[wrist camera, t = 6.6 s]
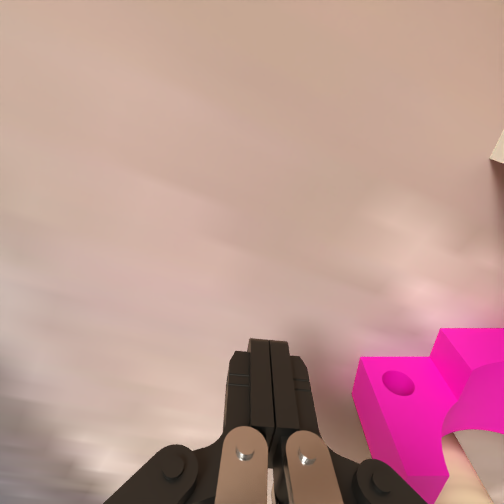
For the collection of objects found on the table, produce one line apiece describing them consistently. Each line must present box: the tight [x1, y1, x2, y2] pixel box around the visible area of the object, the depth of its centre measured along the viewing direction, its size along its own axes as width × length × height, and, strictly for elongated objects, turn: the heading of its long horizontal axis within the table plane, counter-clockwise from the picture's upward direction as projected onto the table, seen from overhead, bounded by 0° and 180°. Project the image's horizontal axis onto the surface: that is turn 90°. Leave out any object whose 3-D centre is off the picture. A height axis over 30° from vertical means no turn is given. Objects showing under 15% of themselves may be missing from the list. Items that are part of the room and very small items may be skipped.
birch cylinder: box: [434, 432, 494, 504], centre depth 21 cm, size 5×5×8 cm
